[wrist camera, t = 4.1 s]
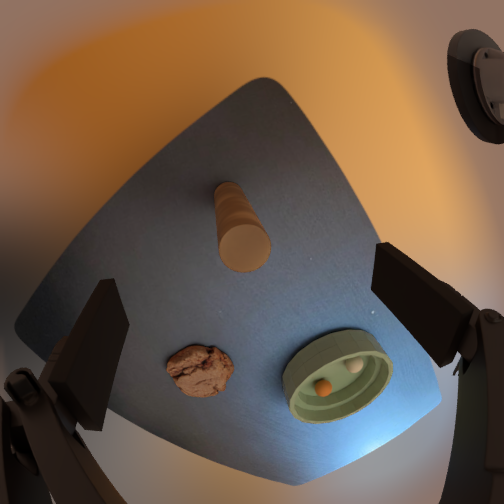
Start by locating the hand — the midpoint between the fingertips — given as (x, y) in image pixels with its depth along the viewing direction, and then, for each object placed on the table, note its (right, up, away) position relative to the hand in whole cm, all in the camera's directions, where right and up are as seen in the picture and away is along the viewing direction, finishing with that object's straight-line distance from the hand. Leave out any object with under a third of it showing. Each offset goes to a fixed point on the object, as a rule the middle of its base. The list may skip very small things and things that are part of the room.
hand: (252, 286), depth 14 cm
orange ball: (+12, -21, +30) cm, 39 cm away
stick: (-3, +8, +18) cm, 19 cm away
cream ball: (+17, -17, +29) cm, 37 cm away
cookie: (-8, -16, +27) cm, 32 cm away
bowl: (+13, -18, +31) cm, 38 cm away
